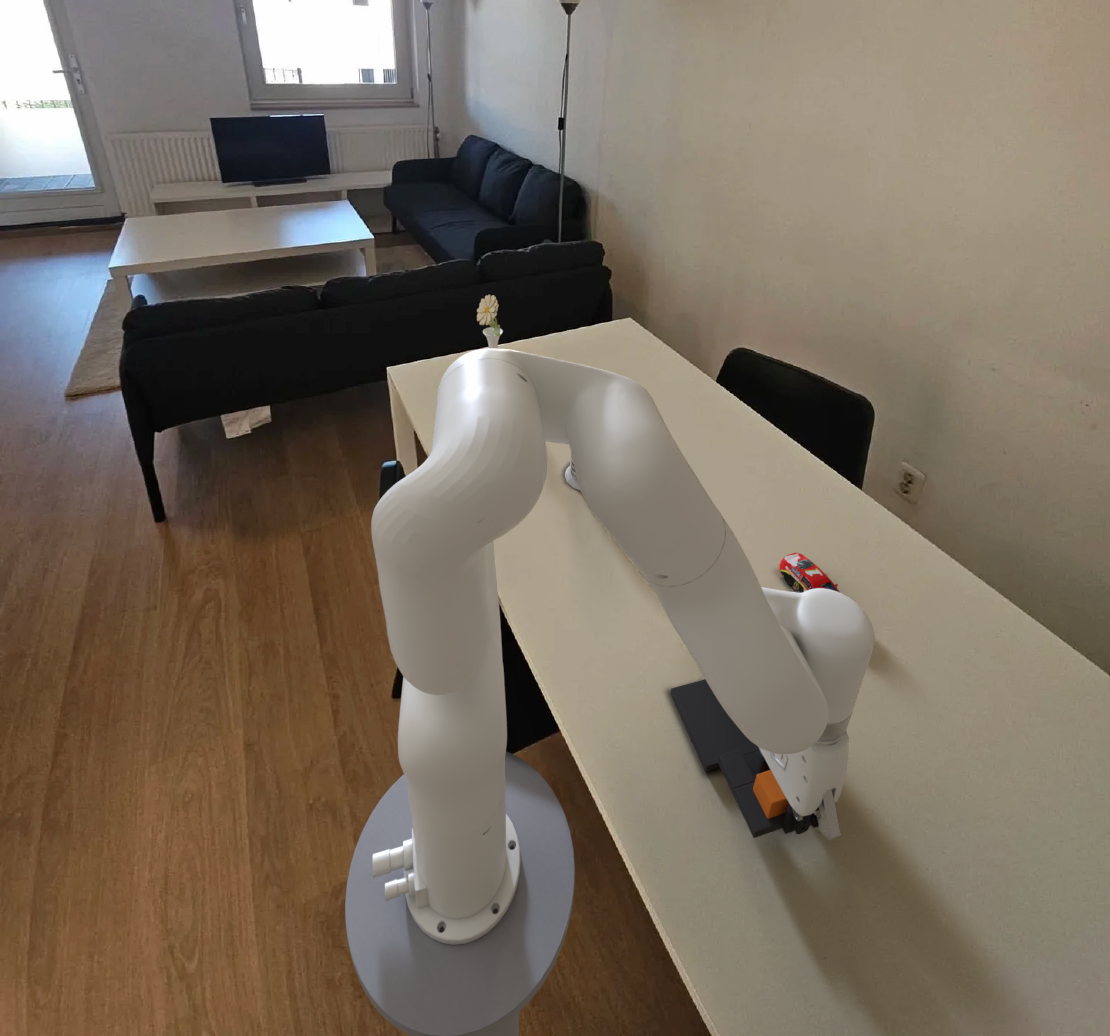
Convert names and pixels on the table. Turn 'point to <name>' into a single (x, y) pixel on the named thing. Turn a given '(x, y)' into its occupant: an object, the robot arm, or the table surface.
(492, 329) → the flower in vase
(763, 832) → the black orange block assembly
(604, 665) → the table surface
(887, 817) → the table surface
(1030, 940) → the table surface
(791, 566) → the race car
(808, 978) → the table surface
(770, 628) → the robot arm
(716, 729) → the charcoal pad
